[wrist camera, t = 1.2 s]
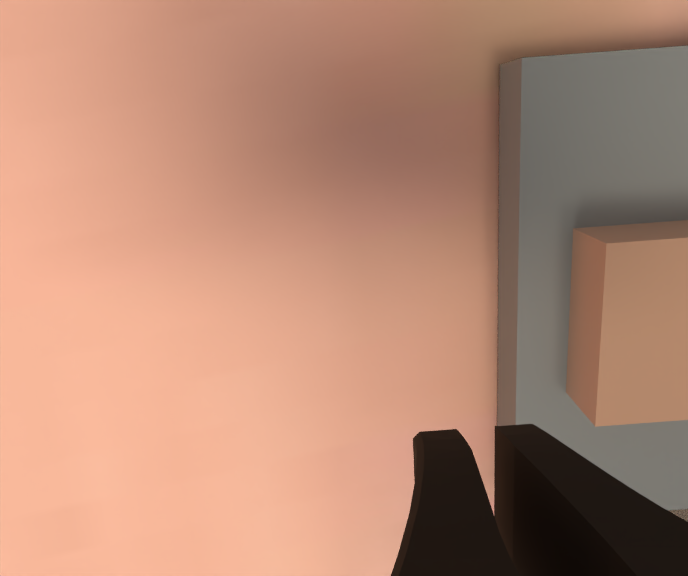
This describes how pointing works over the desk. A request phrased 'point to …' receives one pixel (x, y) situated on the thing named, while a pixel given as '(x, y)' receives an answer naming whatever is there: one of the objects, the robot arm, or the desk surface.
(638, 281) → the terracotta tile
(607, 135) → the slate plate
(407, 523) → the robot arm
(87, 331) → the desk surface
